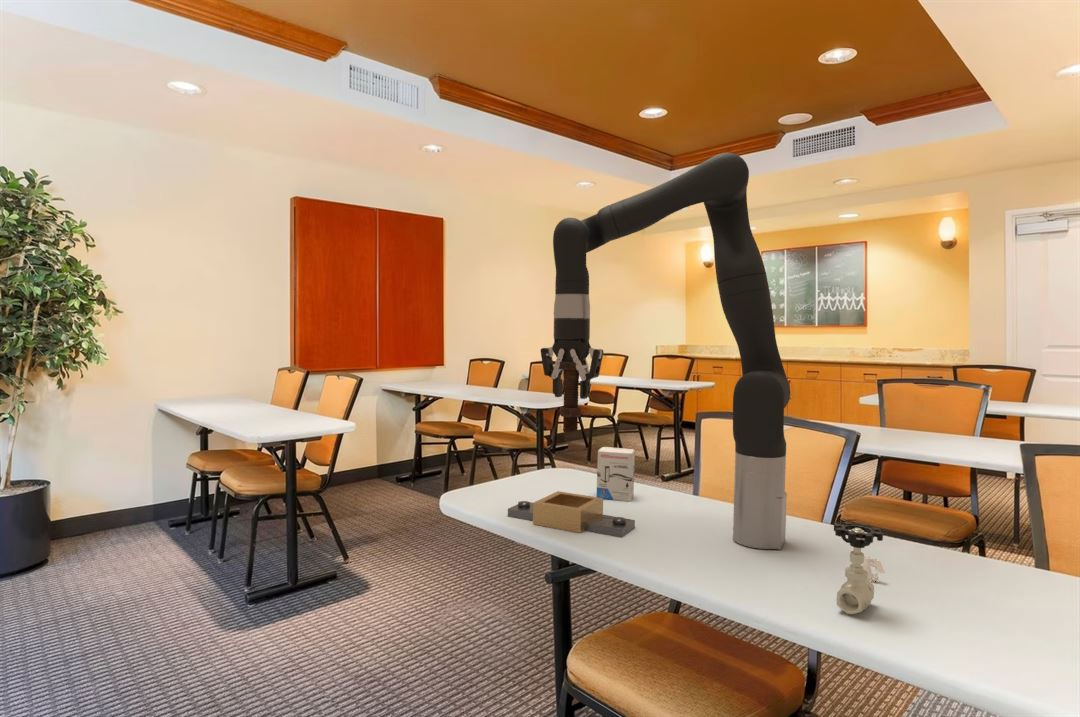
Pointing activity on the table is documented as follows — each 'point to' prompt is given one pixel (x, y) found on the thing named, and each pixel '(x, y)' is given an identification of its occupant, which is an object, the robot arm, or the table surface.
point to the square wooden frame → (566, 511)
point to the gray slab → (522, 510)
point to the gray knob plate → (610, 525)
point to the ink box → (615, 473)
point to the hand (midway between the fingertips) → (570, 397)
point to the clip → (874, 563)
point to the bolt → (570, 397)
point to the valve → (856, 568)
